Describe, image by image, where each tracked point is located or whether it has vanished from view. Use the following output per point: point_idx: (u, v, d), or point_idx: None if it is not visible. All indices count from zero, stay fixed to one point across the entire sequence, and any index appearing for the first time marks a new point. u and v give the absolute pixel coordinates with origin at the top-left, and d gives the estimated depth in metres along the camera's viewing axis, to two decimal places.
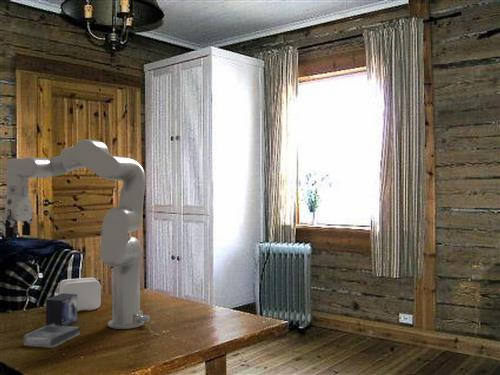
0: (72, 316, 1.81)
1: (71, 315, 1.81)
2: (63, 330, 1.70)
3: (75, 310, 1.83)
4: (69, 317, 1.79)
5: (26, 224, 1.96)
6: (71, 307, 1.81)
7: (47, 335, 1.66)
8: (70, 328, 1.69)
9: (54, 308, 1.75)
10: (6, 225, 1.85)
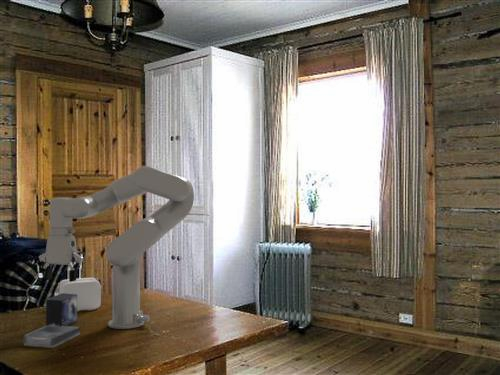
0: (72, 316, 1.81)
1: (71, 315, 1.81)
2: (63, 330, 1.70)
3: (75, 310, 1.83)
4: (69, 317, 1.79)
5: (49, 267, 1.82)
6: (71, 307, 1.81)
7: (47, 335, 1.66)
8: (70, 328, 1.69)
9: (54, 308, 1.75)
10: (76, 268, 1.79)
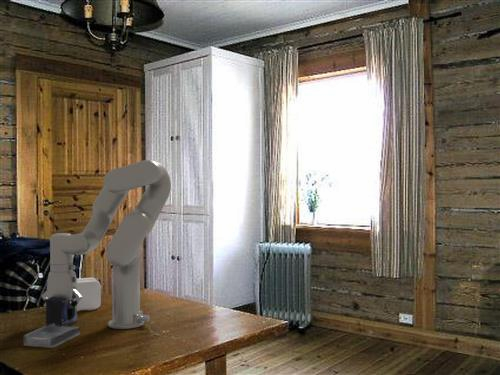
0: None
1: None
2: (63, 330, 1.70)
3: (75, 310, 1.83)
4: None
5: None
6: None
7: (47, 335, 1.66)
8: (70, 328, 1.69)
9: (54, 308, 1.75)
10: (74, 305, 1.79)
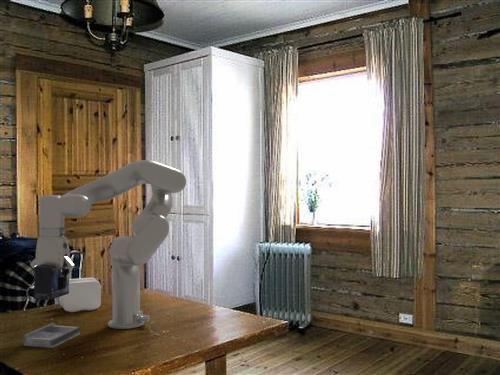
0: None
1: None
2: (63, 330, 1.70)
3: (67, 280, 1.67)
4: None
5: None
6: None
7: (47, 335, 1.66)
8: (70, 328, 1.69)
9: (43, 276, 1.59)
10: (66, 274, 1.63)
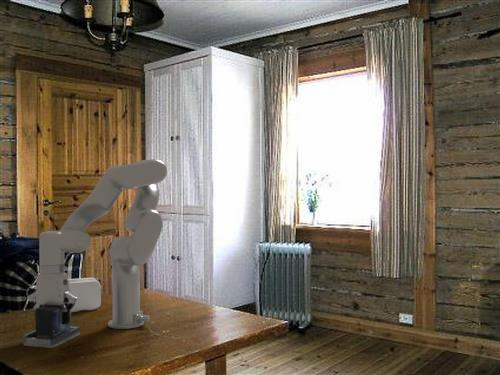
0: (65, 327, 1.65)
1: (63, 326, 1.64)
2: None
3: None
4: (61, 328, 1.63)
5: None
6: None
7: None
8: None
9: (44, 318, 1.59)
10: (70, 309, 1.62)
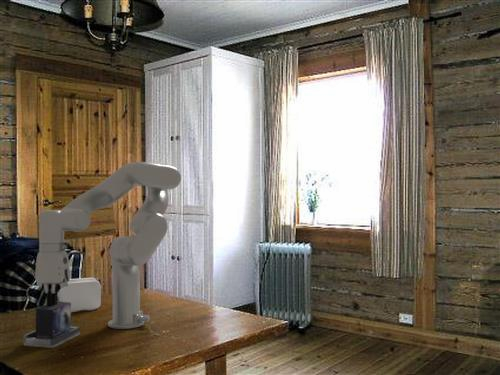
0: (65, 327, 1.65)
1: (63, 326, 1.64)
2: None
3: (68, 320, 1.67)
4: (61, 328, 1.63)
5: None
6: (64, 316, 1.64)
7: None
8: None
9: (44, 318, 1.59)
10: (57, 290, 1.63)
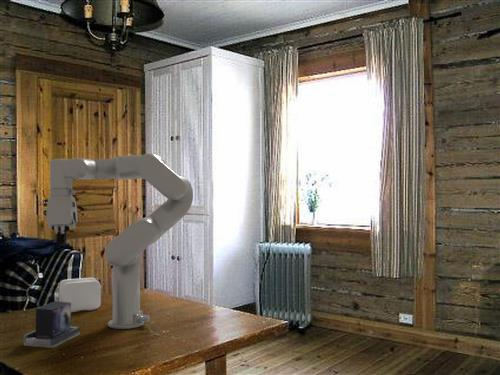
0: (65, 327, 1.65)
1: (63, 326, 1.64)
2: None
3: (68, 320, 1.67)
4: (61, 328, 1.63)
5: None
6: (64, 316, 1.64)
7: None
8: None
9: (44, 318, 1.59)
10: (66, 231, 1.81)
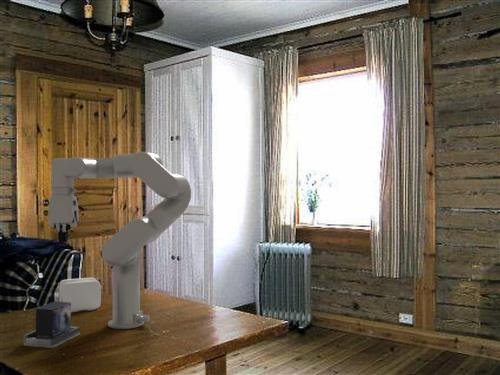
0: (65, 327, 1.65)
1: (63, 326, 1.64)
2: None
3: (68, 320, 1.67)
4: (61, 328, 1.63)
5: None
6: (64, 316, 1.64)
7: None
8: None
9: (44, 318, 1.59)
10: (68, 229, 1.84)
